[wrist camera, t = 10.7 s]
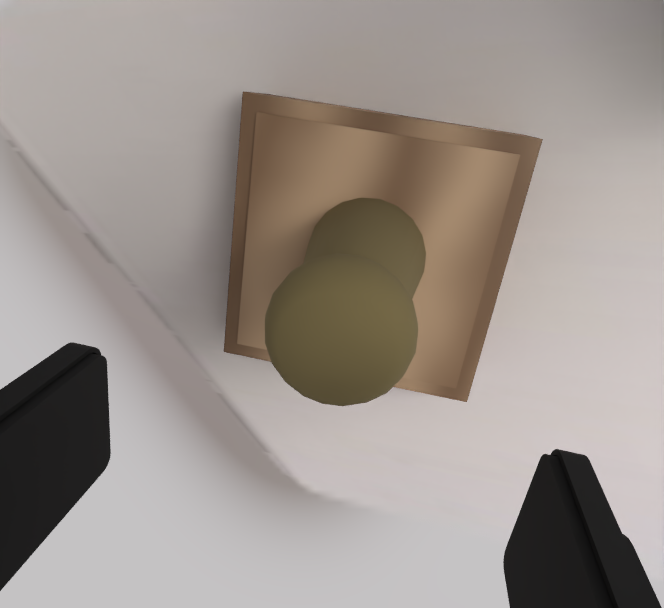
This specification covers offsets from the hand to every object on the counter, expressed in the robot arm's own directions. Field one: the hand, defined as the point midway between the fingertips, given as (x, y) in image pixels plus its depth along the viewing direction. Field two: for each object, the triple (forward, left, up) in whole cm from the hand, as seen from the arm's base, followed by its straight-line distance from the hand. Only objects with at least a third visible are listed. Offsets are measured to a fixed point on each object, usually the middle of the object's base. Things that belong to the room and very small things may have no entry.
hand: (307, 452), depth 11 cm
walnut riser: (0, 0, -21) cm, 20 cm away
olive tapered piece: (0, 0, -16) cm, 16 cm away
